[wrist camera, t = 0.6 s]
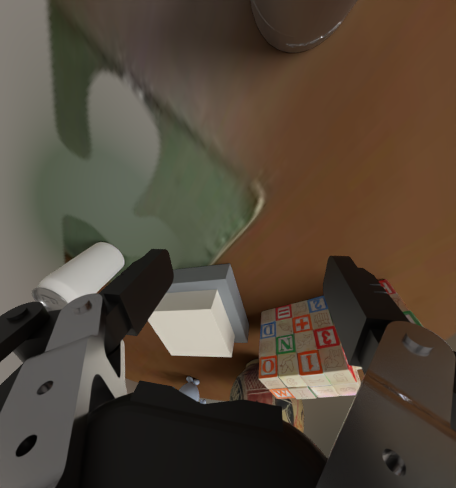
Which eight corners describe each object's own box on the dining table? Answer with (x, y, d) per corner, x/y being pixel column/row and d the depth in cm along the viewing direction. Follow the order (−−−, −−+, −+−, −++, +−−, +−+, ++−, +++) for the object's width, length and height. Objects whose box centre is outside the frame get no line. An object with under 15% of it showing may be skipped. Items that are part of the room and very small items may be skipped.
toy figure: (174, 375, 59) (155, 427, 49) (180, 367, 56) (160, 420, 46) (206, 388, 60) (193, 441, 50) (213, 381, 56) (201, 436, 46)
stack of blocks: (386, 277, 29) (450, 358, 19) (395, 304, 31) (458, 390, 21) (260, 311, 38) (257, 380, 28) (274, 330, 40) (276, 401, 30)
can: (127, 271, 39) (78, 322, 29) (97, 264, 39) (38, 311, 29) (123, 245, 35) (65, 292, 25) (90, 237, 36) (20, 280, 26)
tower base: (151, 272, 38) (126, 303, 31) (230, 263, 33) (220, 298, 26) (181, 325, 45) (166, 360, 38) (249, 324, 40) (245, 364, 34)
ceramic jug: (302, 354, 42) (353, 688, 17) (294, 387, 50) (321, 651, 25) (226, 343, 45) (175, 613, 20) (230, 377, 53) (196, 601, 28)
